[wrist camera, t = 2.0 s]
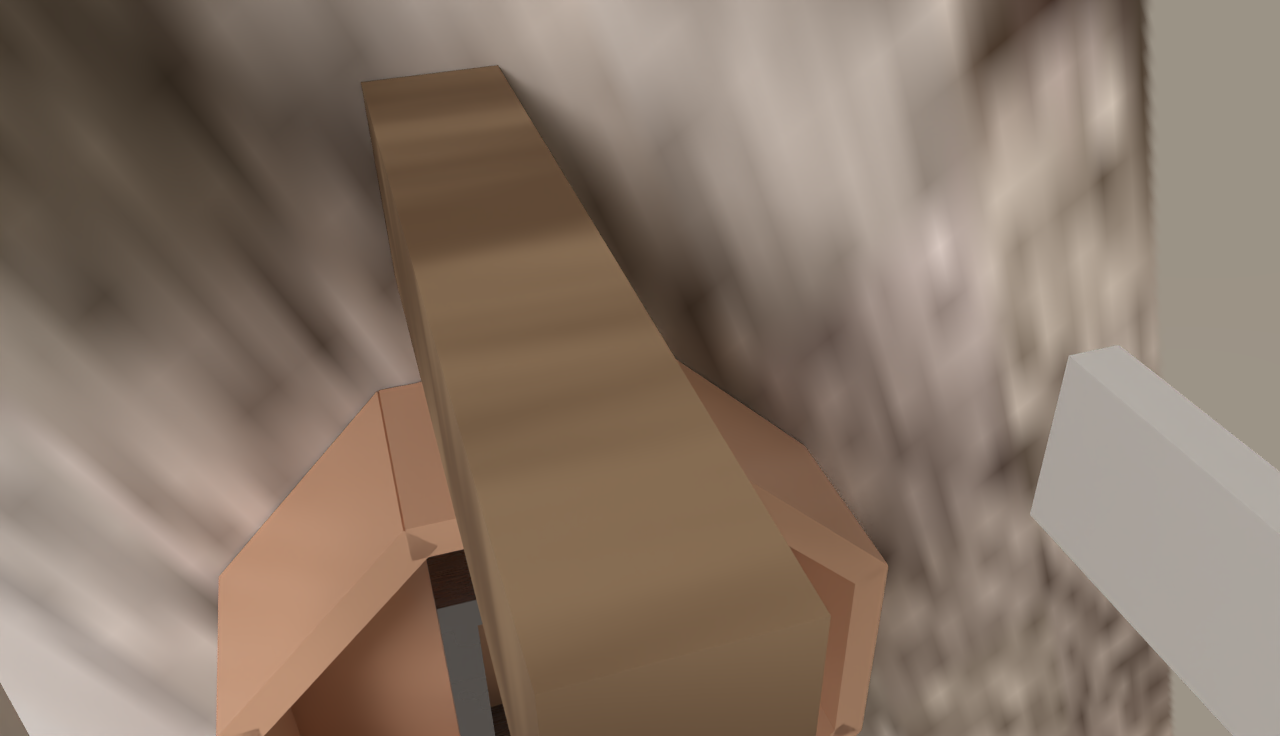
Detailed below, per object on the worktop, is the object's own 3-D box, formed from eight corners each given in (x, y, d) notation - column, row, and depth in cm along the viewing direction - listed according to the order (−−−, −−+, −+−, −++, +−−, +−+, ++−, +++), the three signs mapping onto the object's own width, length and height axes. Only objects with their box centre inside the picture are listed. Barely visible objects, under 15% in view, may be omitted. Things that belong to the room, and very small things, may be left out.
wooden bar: (361, 81, 19) (534, 694, 8) (497, 65, 20) (830, 615, 9) (394, 274, 21) (564, 952, 10) (516, 254, 22) (798, 877, 11)
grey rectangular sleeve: (423, 546, 24) (436, 609, 23) (648, 494, 26) (675, 551, 24) (459, 735, 28) (472, 799, 27) (652, 682, 30) (675, 741, 28)
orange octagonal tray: (166, 430, 22) (153, 585, 18) (817, 306, 25) (912, 416, 22) (308, 832, 30) (318, 991, 27) (782, 698, 34) (846, 824, 30)
